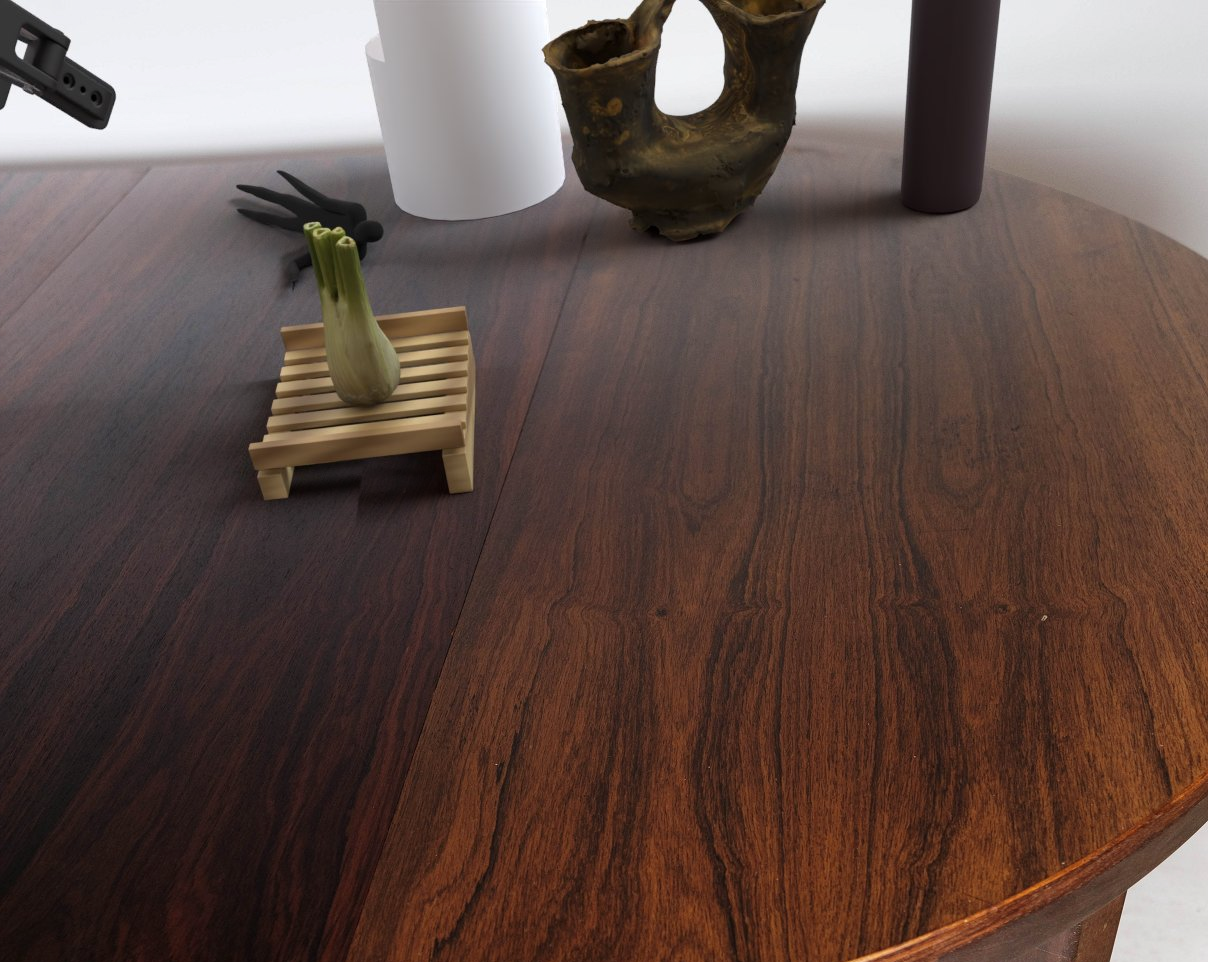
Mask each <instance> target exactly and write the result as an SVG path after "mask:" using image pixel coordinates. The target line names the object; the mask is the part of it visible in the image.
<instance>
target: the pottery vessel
mask: <svg viewBox="0 0 1208 962" xmlns="http://www.w3.org/2000/svg"><path fill="white" fill-rule="evenodd" d="M676 1H677V0H642V1H640V3H639V5H638V6H636V8H635V9H634V10H633V12H632V13H631V14H630V15H629V16H628V17H627V18H621V17H617V18H614V19H611V18H605V19H603V20H595V19H588V20H587V21H586V22H587V23H586V24H584V25H581V26H579V27H577V28H572V29H569V30H567V31H564V32H563V33H561V34H560V35H558V37H555V38H554V39H553V40H550V42H549V43H548V44H546V45H545V46H544V47H543V48H542V51H543V53H544V56H545V59H544V62H545V63H546V64H547V65H548V66H549V67H550V68H551V70H552V71H553V73H554V78H555V79H556V80H555V81H556V83H557V87H558V92H559V95H560V101H561V106H562V108H563V111H564V113H565V114H564V115H565V118H566V121H567V124H568V128H569V133H570V136H571V139H572V143H573V145H572V151H571V157H570V159H571V161H572V164H573V167H574V170H575V172H576V175H577V177H578V179H579V181H580V183H581V185H582V187H583V189H584V191H586V192H587V193H589V194H590V195H593V196H595V197H597V198H600V199H602V200H603V201H606V202H608V203H610V204H612V205H614V206H616V207H620V208H621V209H625V210H627V209H628V210H629V211H630V212H631V214H632V217H630V218H629V219H628V220H627V224H628V226H629V227H630V228H632V229H636V231H637V232H639V233H640V234H642V233H643V232H645V231H646V230H648V229H649V228H651V227H653V226H654V227H657V228H658V229H659V233H658V235H662V236H665V237H667V238H668V239H670V240H672V241H673V242H682V241H687V240H692V239H695V238H697V237H698V235H700V234H702V236H705V235H708V234H717V233H720V234H721V233H722V234H723V231H724V229H725V228H726V227H727V226H728V225H729V224H730V222H731V221H732V220H733V219H735V217H736V216H738V215H739V214H741V213H744V212H746V211H747V210H748V209H749V207H754V205H755V203H756V200H757V199H758V196H760V195H762V194H763V192H764V190H765V188H766V186H767V185H768V183H769V181H770V179H771V178H772V176H773V175H774V174H775V172H776V169H777V167H778V165H779V163H780V161H781V160H782V156H783V154H784V152H785V149H786V146H787V145H788V142H789V140H790V137H791V136H792V132H793V131H792V130H793V128H794V126H797V124H796V119H797V118H796V116H797V114H798V113H797V99H796V95H797V89H798V84H799V78H800V72H801V71H800V70H801V63H802V57H803V52H804V49H805V45H806V43H807V40H808V38H809V36H810V34H811V32H812V30H813V27H814V26H815V23H816V21H817V18H818V15H819V12H820V10H821V9H822V8H823V7H824V6H825V4H827V0H698V1H699V2H700V3H701V4H702V5H703V6H704V7H705V9H707V11H708V12H709V14H710V15H711V17H712V19H713V21H714V23H715V25H716V26H717V28H718V30H719V31H720V33H721V35H722V36H721V37H722V42H723V51H724V60H723V62H724V63H723V67H722V68H723V69H722V74H723V81H724V82H723V87H722V89H721V93H720V94H719V96H718V97H717V99H715V101H714V102H713V103H712V104H710V105H709V106H708V107H706V108H704V109H702V110H700V111H699V110H698V111H696V112H693V113H690V114H685V115H684V114H683V115H674V114H668V113H665V112H663V111H662V110H660V108H659V107H658V105H657V103H656V98H655V96H656V95H655V93H656V81H657V80H656V79H657V65H658V61H659V60H658V58H659V53H660V49H662V48H661V47H662V34H663V32H664V25H665V24H666V22H667V20H668V19H669V17H670V16H671V13H672V11H673V7H674V5H675V3H676Z"/></svg>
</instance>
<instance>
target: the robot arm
mask: <svg viewBox="0 0 1208 962" xmlns="http://www.w3.org/2000/svg"><path fill="white" fill-rule="evenodd" d="M18 41H19V42H22V43H24V44H26V48H25V51H24V54H23V57H22V58H21V57H20V56H18V54H17V52H16V48H17V44H18ZM71 42H72V40H71V39H70V37H68V36H67V35H65V32H63V31H61V30H60V29H58V28H56V27H53V26H52V25H50V24H49V23H47V22H45V20H42V19H41V18H39V17H38V16H36V15H35V14H33V13H31V12H30V11H28V10H27V9H25V8H24V7H22V6H21V5H19V4H18V3H16V2H15V1H13V0H0V111H2V110H4V108H5V106H6V104H7V101H8V98H9V96H10V95H9V94H10V91H11V88H12V86H15V87H18V88H20V89H22V91H23V92H25V93H27V94H29V95H32V96H36V97H38V98H40V100H43V101H44V102H46V103H48V104H49V105H50V106H53V107H54V108H56V109H57V110H59V111H61V113H64V114H66V115H68V116H69V117H70V118H72V119H74V120H76V121H77V122H79V123H81V124H82V125H84V126H85V127H87V128H89V129H92V130H98V131H99V130H100V131H103V130H105V129H106V128H107V126H108V125H109V123H110V119H111V115H112V113H113V109H114V106H115V103H116V99H117V93H116V90H115V88H114V87H113V86H112V85H111V84H110V83H108V82H107V81H105V80H103V79H102V78H100V77H99V76H97V75H96V74H95V73H93V72H91V71H89V70H88V69H87V68H85V67H84V66H82V65H80V64H79V63H78V62H76V61H75V60H73V59H71V58H69V57H68V56H67V53H68V51H69V49H70V46H71Z"/></svg>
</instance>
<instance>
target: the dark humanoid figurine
mask: <svg viewBox="0 0 1208 962" xmlns="http://www.w3.org/2000/svg"><path fill="white" fill-rule="evenodd" d="M276 174H278V175H280V176H281V177H282V178H283V179H284V180H285V181H286V182H287V183H288V184H290V185H291V186H292V187H293V188H294V189H295V190H296V191H297V192H299V194H301V196H302V197H304V198H306V199H307V200H306V199H304V198H301V197H298V196H295V195H292V194H289V193H282V192H279V191H275V190H273V189H270V188H267V187H263V186H256V185H250V184H242V183H241V184H236V185H235V188H236V189H237V190H239V191H241V192H244V193H247V194H249V195H252V196H254V197H256V198H258V199H261V200H263V201H266V202H269V203H273V204H275V205H278V206H280V207H282V208H283V209H286V210H288V211H289V212H291V213H293V214H294V215H295V216H296V217H295V216H294V217H291V216H283V215H282V216H281V215H278V214H274V213H269V212H265V211H256V210H254V209H253V210H252V209H248V208H240V207H239V208H237V209H236V211H237V213H239V214H241V215H242V216H245V217H247V218H249V219H252V220H254V221H256V222H258V223H262V224H267V225H271V226H275V227H278V228H279V229H281V230H286V231H289V232H294V233H295V232H296V233H299V234H300V233H301V234H304V230H303V229H304V227H303V226H304V225H305V224H308V223H312V222H320V224H321V226H322V228H329V229H330V230H331V231H332V230H334V229H335V228H336V227H341V228H342V229H343V230H344V231H345V234H346V236H348V237H350V238H351V239H353V240H354V241H355V243H356V247H357V251H358V256H359V260H360V262H362V261H363V260H364V259H365V258H366V256H367V253H368V244H370V243H371V244H372V243H376V242H379V241H380V240H381V239H382V238H383V237H384V234H385V233H384V232H385V231H384V226H383V225H382V223H380V222H379V221H377V220H372V219H368V214H367V210H366V208H365V207H364V205H362V204H361V203H359V202H355V201H349V200H342V199H337V198H332V197H329V196H327V195H325V194H324V193H322V192H320V191H319V190H317V189H315V188H313V187H311V186H309V185H308V184H306V183H305V182H304V181H302V180H301V179H299V178H297V177H296V176H294V175H292V174H291V173H288V172H286V171H284V170H280V169H278V170H276ZM308 200H309V201H308ZM311 264H312V259H311V255H310V251H309V250H308V251H306V252H304V253H303V254H300V255H298V256H297V257H295V258H293V259H291V260H290V261H289V263H288V265H287V267H286V268H287V273H288V276H289V278H290V280H289V281H288V283H290V284H291V283H292V291H291V293H293V292H294V290H295V287H296V283H299V276H300V269H302V268H304V267H306V266H308V265H311Z"/></svg>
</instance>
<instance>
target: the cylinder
mask: <svg viewBox="0 0 1208 962" xmlns="http://www.w3.org/2000/svg"><path fill="white" fill-rule="evenodd" d="M372 2H373V7H374V12H375V18H376V23H377V27H378V33H377V34H376V35H373V37H371V38H370V39H369V40H368V41H367V43H366V44H365V45H364V54H365V58H366V64H367V68H368V72H369V78H370V83H371V87H372V92H373V98H374V103H375V107H376V112H377V118H378V123H379V128H380V132H381V133H380V134H381V137H382V142H383V147H384V152H385V158H386V162H387V167H388V172H389V177H390V182H391V188H392V193H393V197H394V203H395V204H396V205H397V206H398V208H400V210H401V211H404V212H405V213H408V214H409V215H412V216H415V217H419V218H424V219H429V220H439V221H453V222H454V221H471V220H480V219H486V218H494V217H500V216H502V215H507V214H511V213H516V212H519V211H522V210H525V209H527V208H530V207H532V206H534V205H537V204H539V203H541V202H543V201H545V200H547V199H549V198H550V197H552V196H553V195H555V194H556V193H557V192H558V191H559V190H560V189H561V188H562V187H563V185H564V182H565V179H566V171H565V162H564V161H565V159H564V153H563V144H562V143H563V142H562V134H561V125H560V116H559V108H558V107H559V106H558V100H557V99H558V98H557V91H556V90H557V88H556V80H555V75H554V73H553V71H552V70H551V68H550V67H549V66H548V65H547V64H546V63H545V62H544V59H545V56H544V53H543V51H542V48H543V47H544V46H545V45H546V44H548V43H549V42H550V41H551V36H550V28H549V27H550V26H549V18H548V17H549V16H548V10H547V9H548V8H547V1H546V0H372Z"/></svg>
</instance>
